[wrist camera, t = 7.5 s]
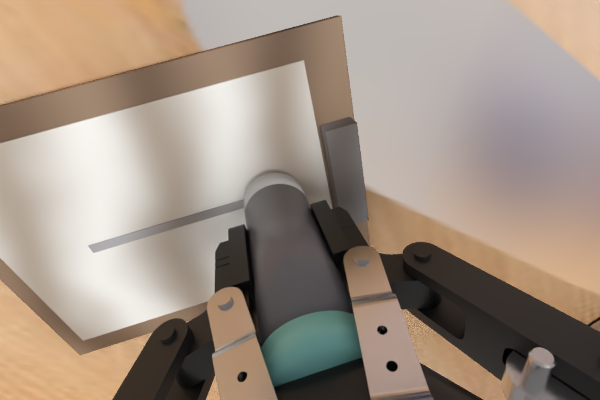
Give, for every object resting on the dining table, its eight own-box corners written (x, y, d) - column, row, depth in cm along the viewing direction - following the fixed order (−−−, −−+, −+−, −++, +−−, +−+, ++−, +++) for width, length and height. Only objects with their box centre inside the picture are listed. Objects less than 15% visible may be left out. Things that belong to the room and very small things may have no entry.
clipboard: (336, 15, 14) (348, 16, 13) (368, 256, 23) (378, 272, 21) (-128, 139, 13) (-168, 154, 12) (83, 346, 21) (74, 369, 20)
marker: (298, 162, 16) (382, 333, 8) (311, 216, 18) (390, 399, 10) (232, 182, 16) (246, 378, 8) (252, 233, 18) (281, 437, 9)
